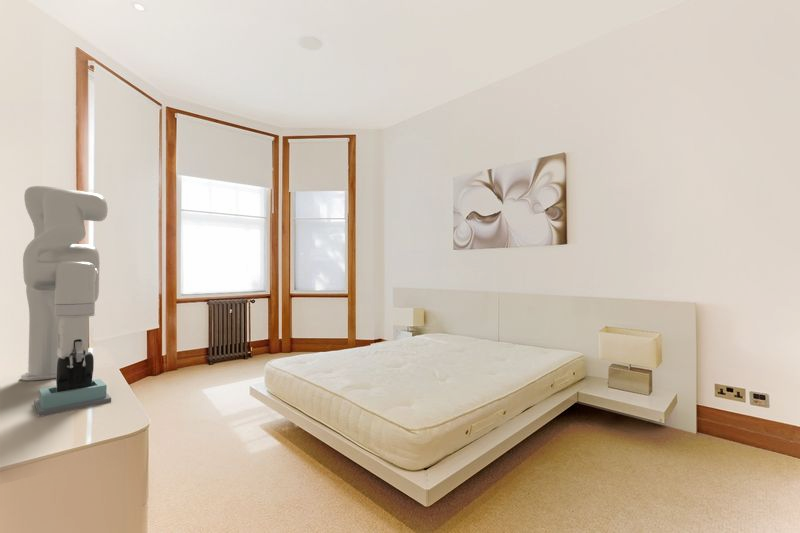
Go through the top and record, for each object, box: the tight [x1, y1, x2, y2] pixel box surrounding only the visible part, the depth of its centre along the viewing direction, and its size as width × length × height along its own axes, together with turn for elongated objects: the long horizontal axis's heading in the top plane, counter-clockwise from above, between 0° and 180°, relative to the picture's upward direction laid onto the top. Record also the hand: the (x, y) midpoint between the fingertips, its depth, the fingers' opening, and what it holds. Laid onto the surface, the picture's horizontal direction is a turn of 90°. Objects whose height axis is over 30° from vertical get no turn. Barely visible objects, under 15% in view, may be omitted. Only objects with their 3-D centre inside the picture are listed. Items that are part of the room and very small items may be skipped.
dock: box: [33, 378, 112, 418], centre depth 91 cm, size 12×13×4 cm
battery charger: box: [55, 351, 95, 392], centre depth 91 cm, size 7×4×11 cm, turn 136°
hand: (73, 380), depth 91 cm, fingers open, 8 cm apart
